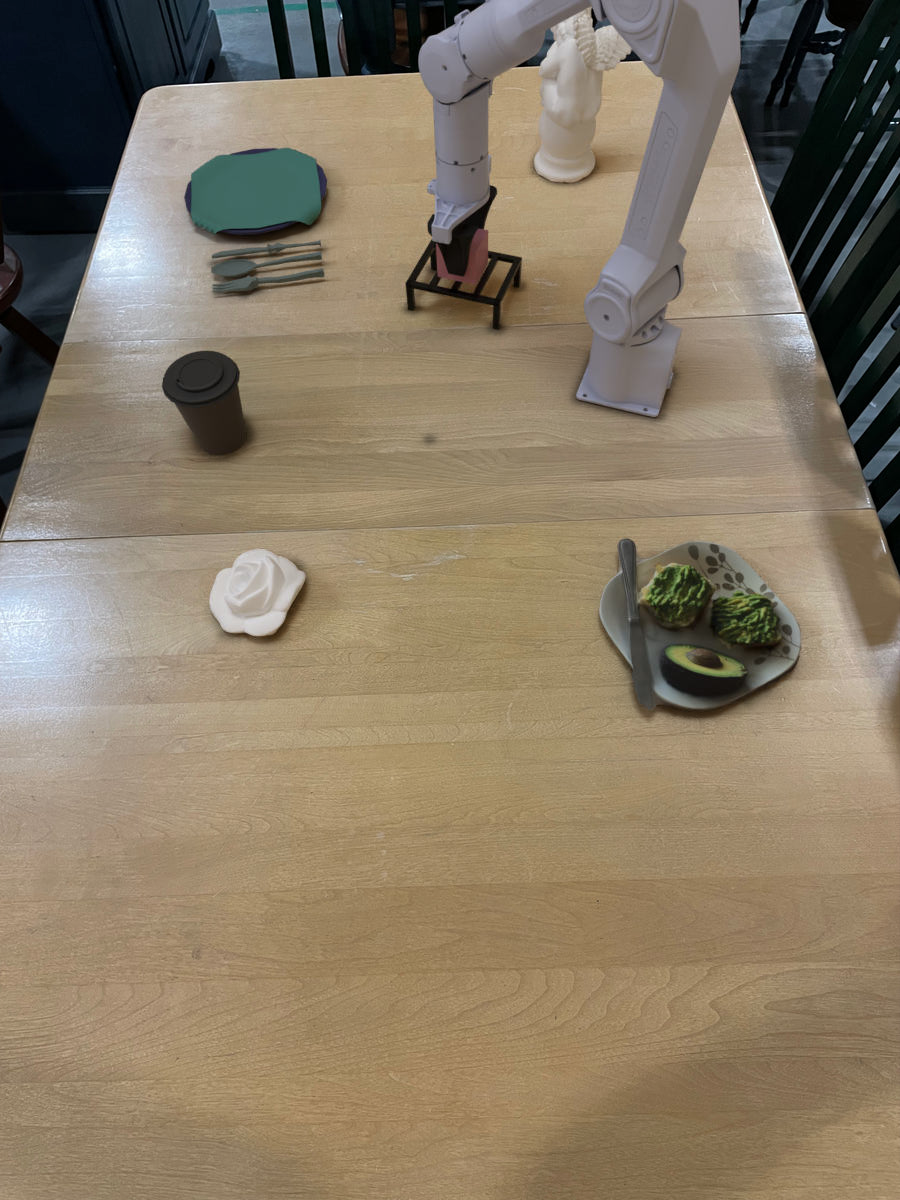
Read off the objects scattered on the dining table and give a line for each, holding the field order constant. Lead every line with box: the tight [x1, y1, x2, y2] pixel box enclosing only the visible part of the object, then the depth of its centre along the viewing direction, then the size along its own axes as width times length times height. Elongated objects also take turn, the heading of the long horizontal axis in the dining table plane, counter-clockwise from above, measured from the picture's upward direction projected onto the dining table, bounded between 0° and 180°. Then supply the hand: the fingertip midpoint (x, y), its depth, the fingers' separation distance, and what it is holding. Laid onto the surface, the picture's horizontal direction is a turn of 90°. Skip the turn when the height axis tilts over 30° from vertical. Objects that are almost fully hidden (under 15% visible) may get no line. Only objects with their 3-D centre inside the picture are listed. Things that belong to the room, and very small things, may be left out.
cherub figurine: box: [533, 7, 633, 184], centre depth 112 cm, size 12×12×22 cm
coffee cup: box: [161, 350, 247, 456], centre depth 92 cm, size 8×8×10 cm
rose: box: [208, 548, 307, 637], centre depth 82 cm, size 10×4×10 cm
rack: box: [405, 238, 523, 331], centre depth 105 cm, size 12×9×4 cm
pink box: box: [436, 228, 489, 286], centre depth 102 cm, size 5×4×4 cm
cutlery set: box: [183, 147, 328, 294], centre depth 116 cm, size 20×30×2 cm, turn 9°
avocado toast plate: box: [598, 537, 802, 713], centre depth 79 cm, size 19×18×5 cm
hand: (463, 260), depth 103 cm, fingers closed on pink box, 4 cm apart
